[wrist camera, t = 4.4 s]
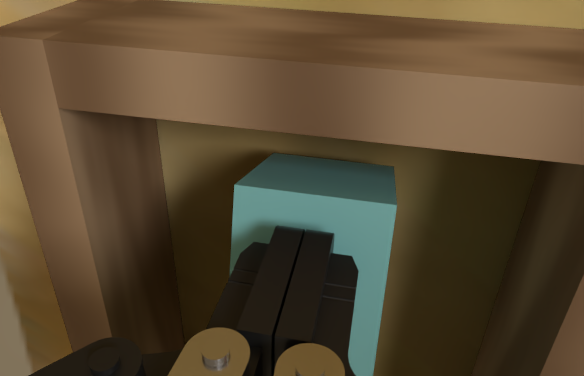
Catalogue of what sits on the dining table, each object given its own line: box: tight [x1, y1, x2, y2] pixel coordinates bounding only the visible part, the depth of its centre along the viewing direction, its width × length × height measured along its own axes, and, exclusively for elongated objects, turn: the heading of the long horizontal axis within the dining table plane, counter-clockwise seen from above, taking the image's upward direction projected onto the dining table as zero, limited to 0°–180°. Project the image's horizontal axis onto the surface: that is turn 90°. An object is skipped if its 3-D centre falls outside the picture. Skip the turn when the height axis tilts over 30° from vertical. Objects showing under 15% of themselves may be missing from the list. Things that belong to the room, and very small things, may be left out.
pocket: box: [0, 0, 584, 376], centre depth 19 cm, size 18×23×5 cm
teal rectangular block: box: [230, 153, 397, 376], centre depth 17 cm, size 4×14×5 cm, turn 179°
